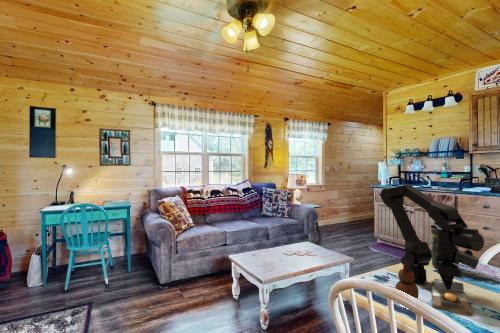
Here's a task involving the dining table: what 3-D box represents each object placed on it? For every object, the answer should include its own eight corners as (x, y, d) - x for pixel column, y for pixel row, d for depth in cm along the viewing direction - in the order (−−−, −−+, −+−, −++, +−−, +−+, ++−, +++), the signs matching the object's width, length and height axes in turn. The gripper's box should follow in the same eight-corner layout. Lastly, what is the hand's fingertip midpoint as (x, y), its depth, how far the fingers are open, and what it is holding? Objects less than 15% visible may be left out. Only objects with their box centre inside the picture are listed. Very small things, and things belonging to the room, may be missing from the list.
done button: (444, 300, 87) (444, 295, 87) (444, 296, 89) (444, 291, 89) (456, 302, 85) (456, 297, 85) (455, 298, 88) (455, 294, 88)
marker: (431, 289, 96) (431, 280, 96) (431, 285, 99) (430, 276, 99) (463, 295, 91) (463, 285, 91) (462, 291, 94) (462, 281, 94)
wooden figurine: (408, 310, 86) (406, 263, 86) (392, 302, 91) (391, 258, 91) (422, 305, 89) (420, 260, 89) (406, 297, 94) (404, 255, 94)
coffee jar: (455, 272, 114) (453, 228, 114) (433, 269, 118) (431, 227, 118) (451, 264, 123) (450, 224, 123) (431, 262, 127) (429, 222, 127)
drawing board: (432, 307, 87) (432, 299, 87) (430, 288, 100) (430, 282, 100) (471, 315, 82) (471, 307, 82) (465, 294, 95) (464, 287, 95)
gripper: (481, 254, 82) (483, 304, 82) (471, 239, 98) (473, 282, 98) (437, 248, 88) (438, 296, 88) (434, 235, 104) (436, 276, 104)
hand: (447, 287), depth 94 cm, fingers closed on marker, 3 cm apart
